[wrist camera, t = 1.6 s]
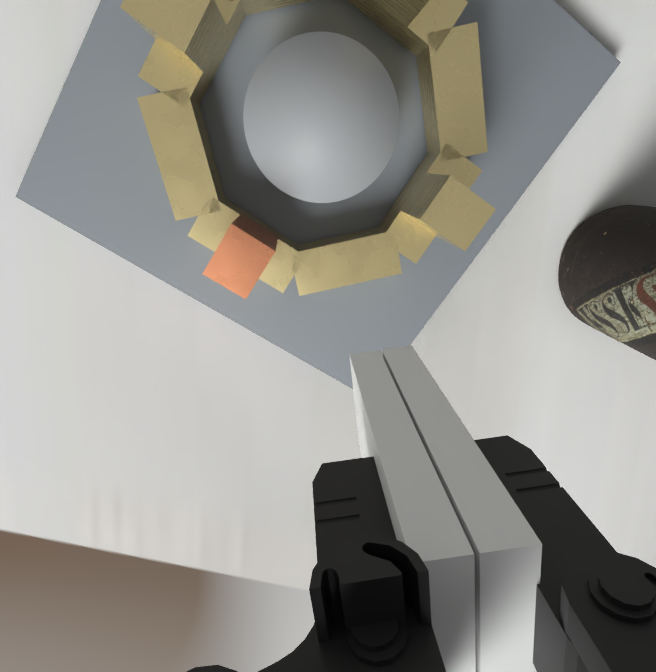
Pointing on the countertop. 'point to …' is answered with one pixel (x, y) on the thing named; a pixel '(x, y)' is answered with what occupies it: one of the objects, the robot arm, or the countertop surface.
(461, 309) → the countertop surface
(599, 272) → the container
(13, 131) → the countertop surface
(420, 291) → the slate plate
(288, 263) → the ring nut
